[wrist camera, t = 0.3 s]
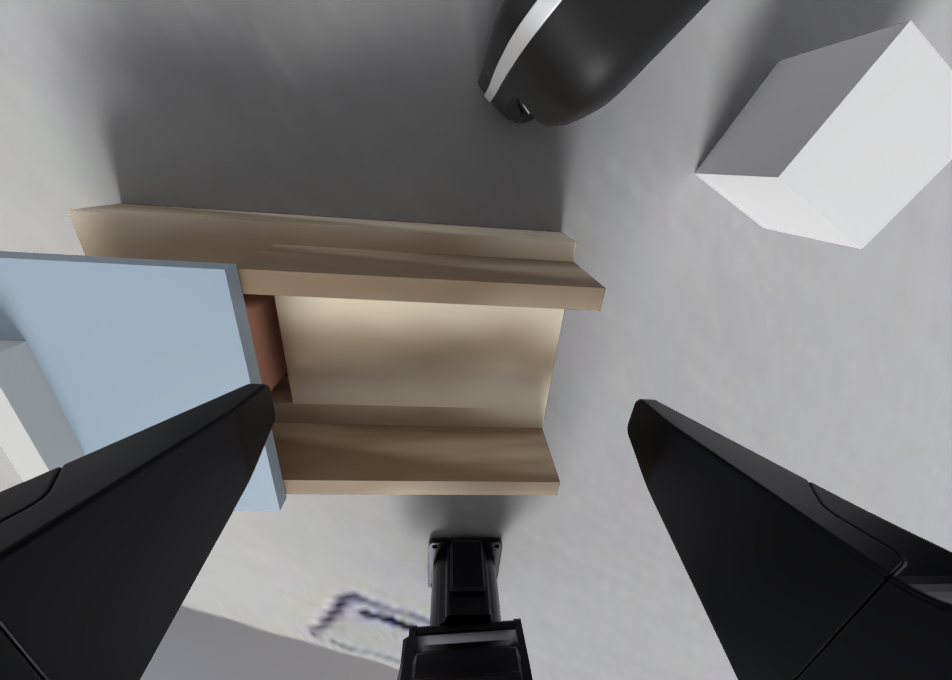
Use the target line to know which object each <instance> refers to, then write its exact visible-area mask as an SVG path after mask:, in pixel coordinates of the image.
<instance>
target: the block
mask: <svg viewBox="0 0 952 680" xmlns="http://www.w3.org/2000/svg"><path fill="white" fill-rule="evenodd" d="M243 298H244V302H245V307H246V312H247V316H248V321H249V326H250V330H251V335H252V340H253V344H254V349H255V354H256V358H257V363H258V368H259V372H260V377H261V382H262V384H267V385H268V386H269V387H270V389H271V391H272V390H273V388H274V387H275V386H276V385H277V383H278V382H279V381H280V380H281V378H282V377H283V376H284V375H285V373H286V372H287V366H286V360H285V354H284V349H283V343H282V337H281V331H280V326H279V320H278V314H277V309H276V303H275V297H274V295H257V294H243Z"/></svg>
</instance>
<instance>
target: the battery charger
mask: <svg viewBox="0 0 952 680" xmlns="http://www.w3.org/2000/svg"><path fill="white" fill-rule="evenodd" d="M709 1H710V0H504V1H503V3H502V6H501V8H500V10H499V13H498V16H497V19H496V21H495V24H494V27H493V30H492V34H491V37H490V40H489V44H488V47H487V52H486V56H485V61H484V66H483V69H482V72H481V75H480V78H479V81H478V83H479V87H480V88H481V90H482V91H483V92H484V94H485V95H484V97H485V98H486V99H487V100H488V102H489V103H490V102H492V103H493V105H494V106H495V107H496V108H497V109H498V111H499V112H500V113H502V114H503V115H504V116H505V117H507V118H508V119H509V120H511V121H513V122H516V123H526V122H528V121H530V120H532V119H533V118H534V117H535V118H536V119H537V120H538V121H539V122H541V123H543V124H545V125H546V126H548V127H551V126H560V125H566V124H569V123H571V122H574V121H576V120H578V119H581V118H583V117H585V116H587V115H589V114H591V113H593V112H594V111H596V110H598V109H600V108H601V107H603V106H604V105H606V104H607V103H608V102H610V101H611V100H612V99H613V98H614V97H615V96H616V95H617V94H619V93H620V92H621V91H622V90H623V89H624V88H625V87H626V86H627V85H628V84H629V83H630V82H631V81H632V80H633V79H634V78H635V77H636V76H637V75H638V74H639V73H640V72H641V71H642V70H643V69H644V68H645V67H646V66H647V64H648V63H649V62H650V61H651V60H652V59H653V58H654V57H655V56H656V55H657V54H658V53H659V52H660V51H661V50H662V49H663V48H664V47H665V46H666V45H667V44H668V43H669V42H670V41H671V40H672V39H673V38H674V37H675V36H676V35H677V34H678V33H679V32H680V31H681V30H682V29H683V28H684V27H685V26H686V25H687V23H688V22H689V21H690V20H691V19H692V18H693V17H694V16H695V15H696V14H697V13H698V12H699V11H700V10H701V9H702V8H703V7H704V6H705V5H706V4H707V3H708V2H709Z"/></svg>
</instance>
